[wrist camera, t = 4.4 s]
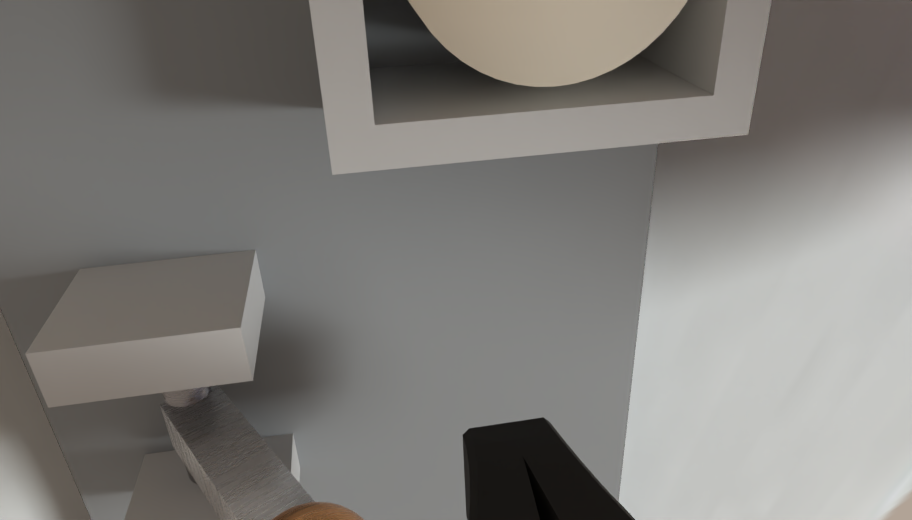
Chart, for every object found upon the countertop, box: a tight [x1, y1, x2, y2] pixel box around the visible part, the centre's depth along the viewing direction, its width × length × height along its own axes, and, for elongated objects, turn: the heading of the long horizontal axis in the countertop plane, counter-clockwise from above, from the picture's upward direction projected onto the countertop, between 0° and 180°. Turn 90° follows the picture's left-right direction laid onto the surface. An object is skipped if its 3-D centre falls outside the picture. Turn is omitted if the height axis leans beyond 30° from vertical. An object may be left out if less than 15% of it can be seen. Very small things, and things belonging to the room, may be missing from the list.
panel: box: [0, 0, 772, 520], centre depth 11 cm, size 12×30×5 cm, turn 2°
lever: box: [160, 385, 364, 520], centre depth 11 cm, size 2×3×6 cm
